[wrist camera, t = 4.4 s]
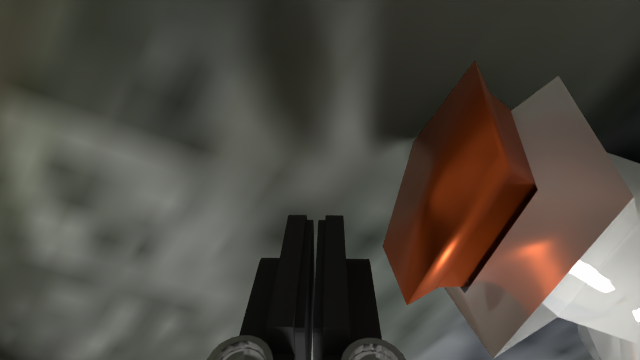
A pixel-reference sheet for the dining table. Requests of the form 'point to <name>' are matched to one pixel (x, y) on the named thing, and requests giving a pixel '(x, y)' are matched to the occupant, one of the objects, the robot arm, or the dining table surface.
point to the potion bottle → (521, 220)
